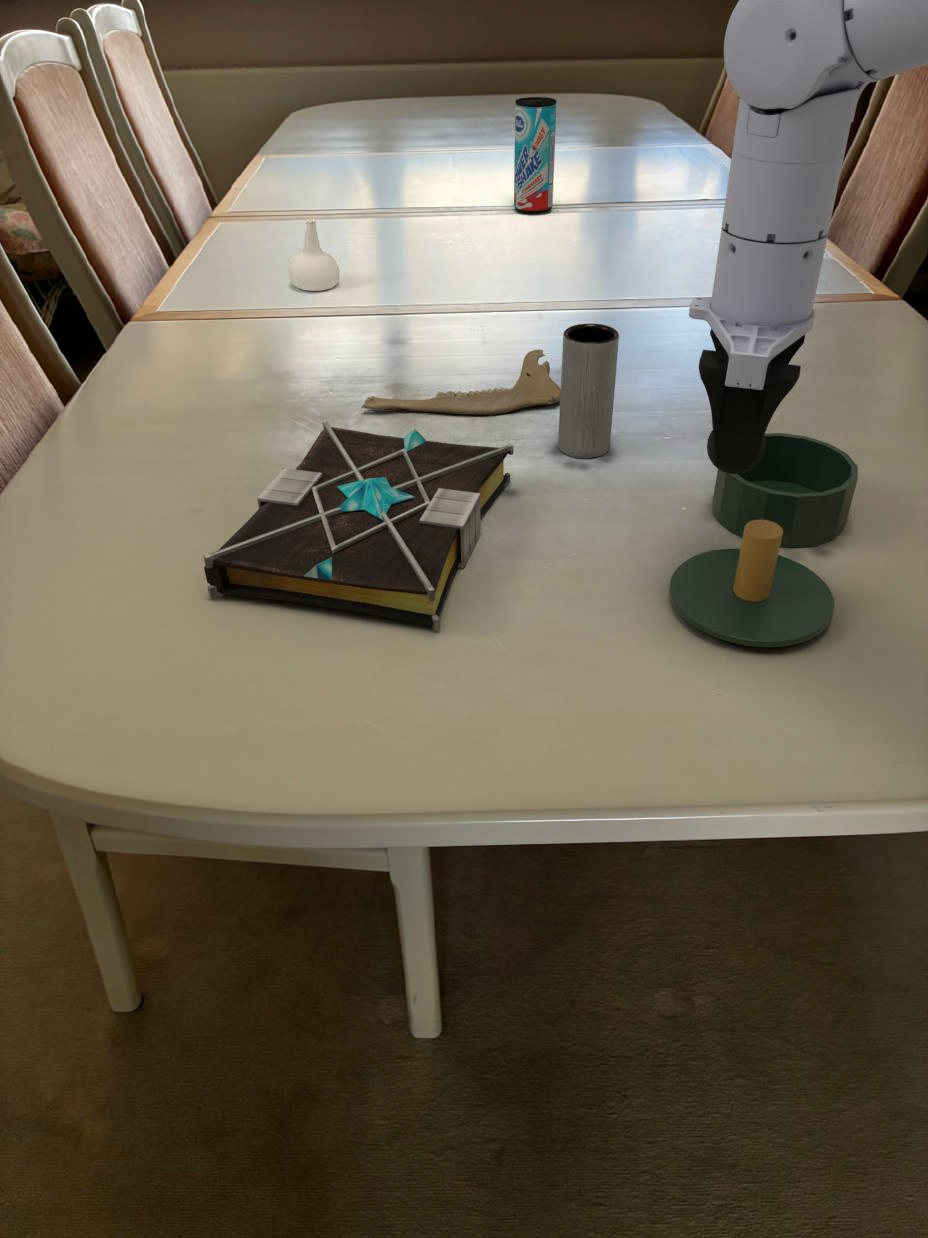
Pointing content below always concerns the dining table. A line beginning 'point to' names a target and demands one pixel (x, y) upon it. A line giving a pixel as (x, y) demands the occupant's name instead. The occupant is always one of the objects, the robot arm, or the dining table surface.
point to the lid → (752, 592)
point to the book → (364, 525)
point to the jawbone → (486, 394)
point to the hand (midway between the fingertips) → (735, 450)
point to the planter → (587, 389)
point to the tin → (790, 490)
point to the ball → (729, 469)
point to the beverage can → (534, 154)
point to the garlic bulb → (313, 264)
